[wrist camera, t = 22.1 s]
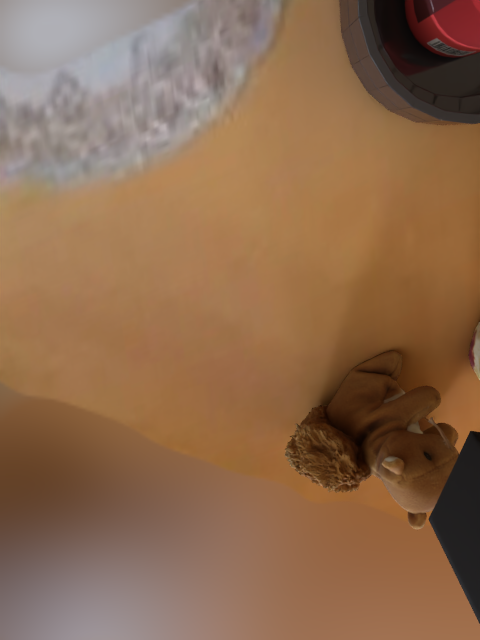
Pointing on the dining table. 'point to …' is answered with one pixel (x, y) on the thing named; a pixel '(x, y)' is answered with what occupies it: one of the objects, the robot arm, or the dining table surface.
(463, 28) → the canned food
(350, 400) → the stuffed squirrel
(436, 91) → the bowl
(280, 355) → the dining table surface
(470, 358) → the food model
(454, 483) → the robot arm
